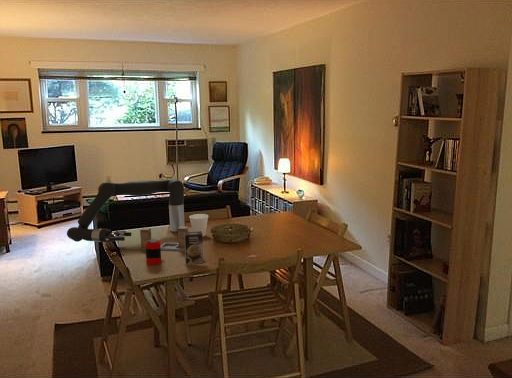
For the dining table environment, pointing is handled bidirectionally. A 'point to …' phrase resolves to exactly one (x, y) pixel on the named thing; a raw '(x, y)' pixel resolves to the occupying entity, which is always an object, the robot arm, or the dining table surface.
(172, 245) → the grey slotted tray
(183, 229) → the seated billet
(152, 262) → the soda can
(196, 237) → the coffee box
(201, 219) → the cup
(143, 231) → the block
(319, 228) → the dining table surface
